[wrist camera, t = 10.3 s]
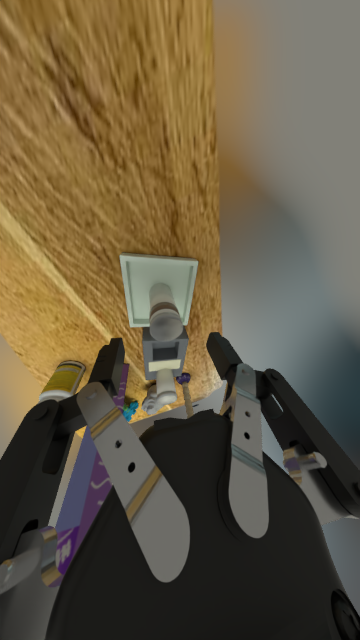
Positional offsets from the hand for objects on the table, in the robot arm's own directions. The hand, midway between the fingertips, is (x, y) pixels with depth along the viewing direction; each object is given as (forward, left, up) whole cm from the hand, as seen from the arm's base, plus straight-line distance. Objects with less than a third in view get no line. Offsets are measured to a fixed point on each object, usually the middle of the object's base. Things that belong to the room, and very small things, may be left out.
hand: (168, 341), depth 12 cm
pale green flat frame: (0, 0, -12) cm, 12 cm away
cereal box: (+26, -12, -12) cm, 31 cm away
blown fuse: (0, 0, -11) cm, 11 cm away
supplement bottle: (+18, -18, -12) cm, 28 cm away
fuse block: (+13, +1, -12) cm, 18 cm away
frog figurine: (+30, -1, -12) cm, 32 cm away
